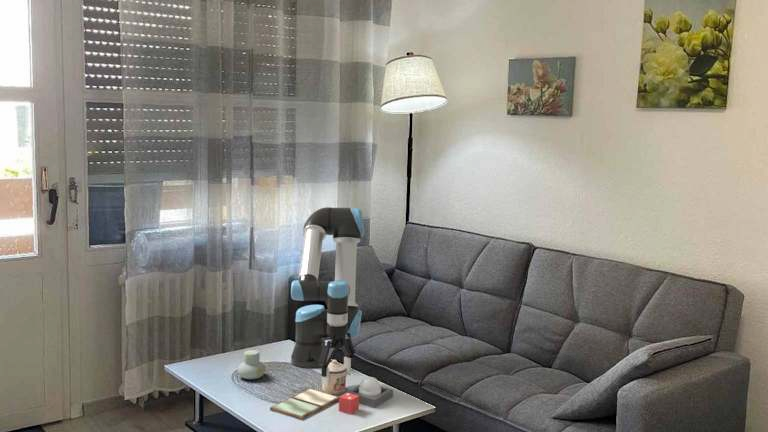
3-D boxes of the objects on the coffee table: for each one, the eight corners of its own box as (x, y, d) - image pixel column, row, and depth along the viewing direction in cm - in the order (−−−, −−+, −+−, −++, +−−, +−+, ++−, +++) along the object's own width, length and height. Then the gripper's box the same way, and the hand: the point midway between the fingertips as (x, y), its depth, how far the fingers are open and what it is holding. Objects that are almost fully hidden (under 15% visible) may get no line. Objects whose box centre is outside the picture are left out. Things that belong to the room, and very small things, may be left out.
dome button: (366, 390, 273) (367, 372, 272) (385, 395, 269) (385, 376, 268) (354, 397, 266) (354, 378, 265) (372, 402, 262) (373, 383, 261)
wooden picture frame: (309, 390, 274) (309, 388, 273) (340, 399, 266) (340, 396, 266) (269, 410, 255) (269, 406, 255) (301, 419, 248) (301, 416, 248)
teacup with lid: (336, 397, 268) (336, 366, 267) (316, 391, 273) (317, 361, 272) (355, 387, 278) (356, 357, 276) (336, 382, 283) (336, 352, 281)
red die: (347, 406, 260) (347, 392, 259) (358, 409, 258) (359, 395, 257) (338, 410, 256) (339, 396, 255) (350, 414, 253) (350, 399, 253)
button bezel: (365, 389, 276) (365, 382, 276) (392, 397, 269) (393, 389, 269) (346, 400, 266) (346, 392, 265) (374, 408, 259) (374, 399, 259)
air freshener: (253, 383, 280) (253, 357, 278) (234, 380, 283) (234, 354, 281) (268, 374, 290) (268, 349, 289) (249, 371, 293) (249, 346, 291)
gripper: (324, 333, 260) (324, 391, 262) (364, 318, 281) (363, 372, 283) (308, 329, 264) (307, 386, 266) (348, 315, 285) (347, 368, 287)
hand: (336, 379), depth 275 cm, fingers open, 13 cm apart
